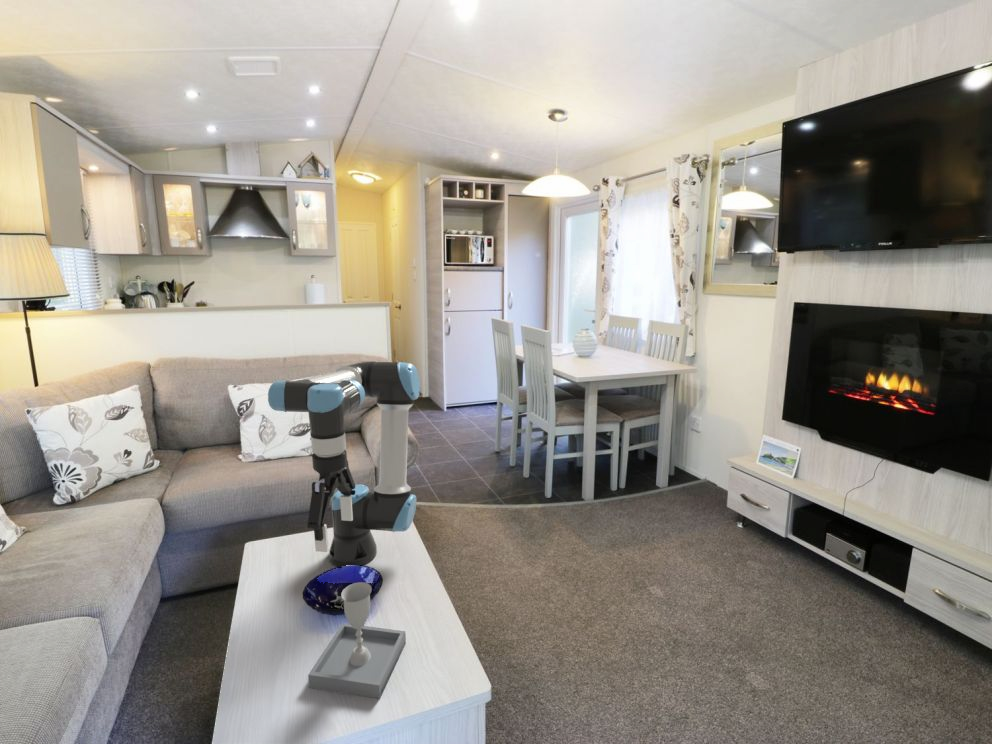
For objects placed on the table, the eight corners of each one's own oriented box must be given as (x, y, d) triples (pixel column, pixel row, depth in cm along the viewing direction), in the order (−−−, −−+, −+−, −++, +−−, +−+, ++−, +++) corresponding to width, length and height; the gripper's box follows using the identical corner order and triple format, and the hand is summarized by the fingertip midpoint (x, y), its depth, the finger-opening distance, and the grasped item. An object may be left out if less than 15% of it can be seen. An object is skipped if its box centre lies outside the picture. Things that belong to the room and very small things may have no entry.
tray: (343, 634, 131) (342, 623, 130) (405, 643, 128) (405, 631, 127) (309, 687, 114) (308, 674, 114) (380, 698, 112) (379, 685, 111)
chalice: (366, 672, 117) (362, 604, 113) (339, 667, 118) (335, 599, 114) (379, 649, 124) (376, 584, 120) (354, 644, 125) (350, 580, 122)
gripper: (337, 431, 127) (342, 507, 132) (284, 473, 103) (293, 564, 108) (365, 433, 127) (369, 509, 131) (319, 475, 102) (326, 567, 107)
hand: (335, 534), depth 120 cm, fingers open, 13 cm apart
